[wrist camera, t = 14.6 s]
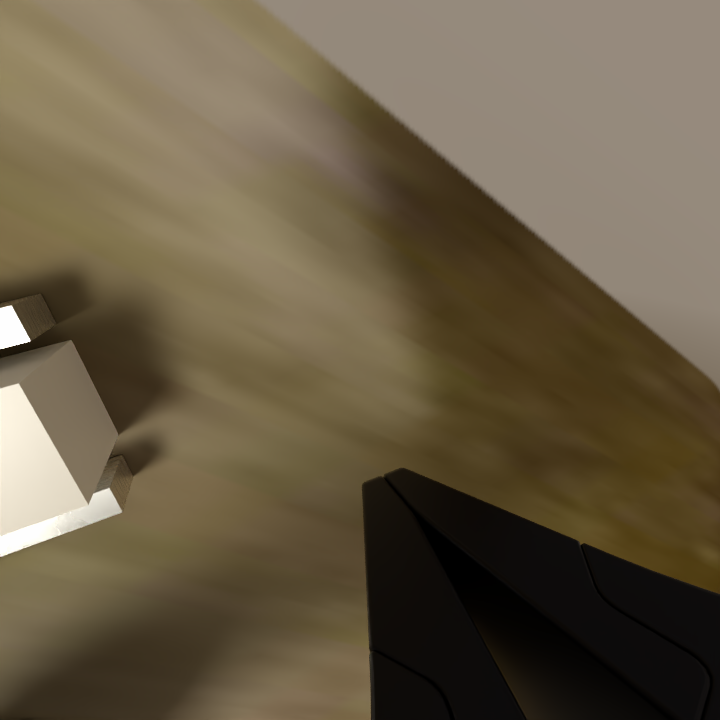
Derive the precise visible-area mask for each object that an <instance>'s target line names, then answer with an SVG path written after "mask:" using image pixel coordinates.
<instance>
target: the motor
mask: <svg viewBox="0 0 720 720" xmlns="http://www.w3.org/2000/svg"><path fill="white" fill-rule="evenodd" d="M55 325H56V322H55V320H54V318H53V316H52V314H51V312H50V310H49V308H48V306H47V304H46V302H45V300H44V298H43V296H42V294H37V295H33V296H29V297H24V298H20V299H16V300H11V301H7V302H3V303H0V349H2V348H6V347H10V346H14V345H18V344H22V343H26V342H29V341H32V340H33V339H35V338H36V337H38V336H39V335H41V334H42V333H44V332H45V331H47V330H49V329H50V328H52V327H53V326H55ZM132 479H133V475H132V473H131V471H130V469H129V467H128V465H127V463H126V461H125V459H124V457H123V455H119V456H116V457H113V458H110V459H108V461H107V463H106V466H105V468H104V470H103V473H102V475H101V477H100V480H99V482H98V484H97V487H96V489H95V491H94V493H93V496H92V498H91V500H90V503H89V505H87V506H85V507H82V508H79V509H76V510H73V511H71V512H68V513H65V514H62V515H59V516H56V517H54V518H51V519H48V520H45V521H42V522H40V523H37V524H34V525H31V526H28V527H25V528H23V529H20V530H17V531H14V532H11V533H9V534H6V535H3V536H0V557H1V556H4V555H7V554H10V553H12V552H15V551H18V550H21V549H23V548H26V547H29V546H31V545H34V544H37V543H40V542H42V541H45V540H48V539H51V538H53V537H56V536H59V535H62V534H64V533H67V532H70V531H73V530H75V529H78V528H81V527H84V526H86V525H89V524H92V523H94V522H97V521H100V520H103V519H105V518H108V517H111V516H114V515H116V514H119V513H122V512H123V509H124V506H125V503H126V499H127V496H128V493H129V489H130V486H131V483H132Z"/></svg>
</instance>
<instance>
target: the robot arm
mask: <svg viewBox="0 0 720 720" xmlns="http://www.w3.org/2000/svg"><path fill="white" fill-rule="evenodd" d="M362 499H363V521H364V543H365V565H366V588H367V610H368V632H369V650H370V655H369V661H370V683H371V720H720V594H717V593H714V592H711V591H708V590H706V589H703V588H700V587H697V586H694V585H691V584H688V583H686V582H683V581H680V580H677V579H674V578H671V577H669V576H666V575H663V574H660V573H657V572H655V571H652V570H649V569H647V568H644V567H642V566H639V565H637V564H634V563H632V562H629V561H627V560H624V559H621V558H619V557H616V556H614V555H611V554H609V553H606V552H604V551H602V550H599V549H597V548H595V547H592V546H590V545H587V544H585V543H583V544H582V545H580V543H579V541H577V540H575V539H573V538H570V537H568V536H565V535H563V534H561V533H558V532H556V531H553V530H551V529H549V528H546V527H544V526H542V525H539V524H537V523H534V522H532V521H530V520H527V519H525V518H522V517H520V516H518V515H515V514H513V513H511V512H508V511H506V510H503V509H501V508H499V507H496V506H494V505H491V504H489V503H487V502H484V501H482V500H480V499H477V498H475V497H472V496H470V495H468V494H465V493H463V492H460V491H458V490H456V489H453V488H451V487H448V486H446V485H444V484H441V483H439V482H437V481H434V480H432V479H429V478H427V477H425V476H422V475H420V474H417V473H415V472H413V471H410V470H408V469H405V468H399V469H396V470H394V471H391V472H389V473H386V474H385V475H384V477H376V478H374V479H371V480H369V481H366V482H364V483H363V484H362Z"/></svg>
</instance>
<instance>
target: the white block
mask: <svg viewBox="0 0 720 720" xmlns="http://www.w3.org/2000/svg"><path fill="white" fill-rule="evenodd" d="M118 436H119V434H118V432H117V430H116V428H115V426H114V424H113V422H112V420H111V418H110V416H109V414H108V412H107V410H106V408H105V406H104V404H103V402H102V400H101V398H100V396H99V394H98V392H97V390H96V388H95V386H94V384H93V382H92V380H91V378H90V376H89V374H88V372H87V370H86V368H85V366H84V364H83V362H82V360H81V358H80V356H79V354H78V352H77V350H76V348H75V346H74V344H73V342H72V340H68V341H64V342H60V343H56V344H53V345H49V346H45V347H41V348H37V349H34V350H30V351H26V352H22V353H18V354H14V355H11V356H7V357H3V358H0V536H3V535H6V534H9V533H11V532H14V531H17V530H20V529H23V528H25V527H28V526H31V525H34V524H37V523H40V522H42V521H45V520H48V519H51V518H54V517H56V516H59V515H62V514H65V513H68V512H71V511H73V510H76V509H79V508H82V507H85V506H87V505H89V503H90V500H91V498H92V496H93V493H94V491H95V489H96V487H97V484H98V482H99V480H100V477H101V475H102V473H103V470H104V468H105V466H106V463H107V461H108V459H109V456H110V454H111V452H112V449H113V447H114V445H115V442H116V440H117V438H118Z"/></svg>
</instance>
